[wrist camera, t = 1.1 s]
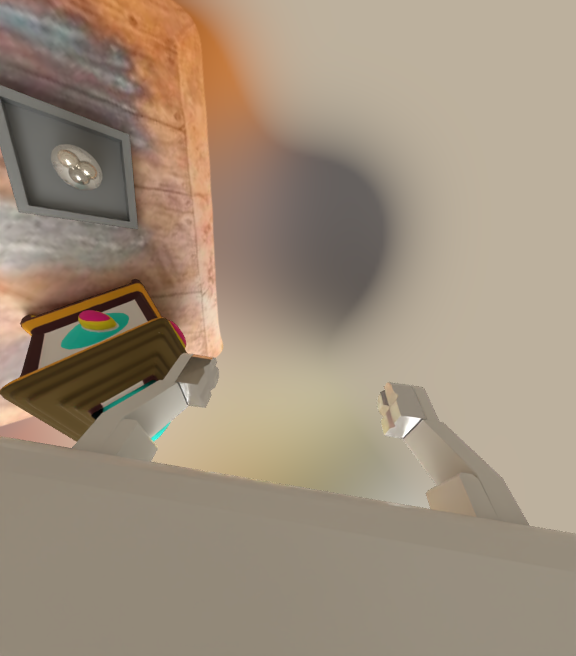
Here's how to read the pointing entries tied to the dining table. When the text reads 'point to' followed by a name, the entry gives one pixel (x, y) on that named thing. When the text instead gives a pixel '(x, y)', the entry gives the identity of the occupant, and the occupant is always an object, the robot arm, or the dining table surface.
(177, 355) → the decorative lantern
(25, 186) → the tray
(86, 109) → the dining table surface
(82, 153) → the pebble cup
